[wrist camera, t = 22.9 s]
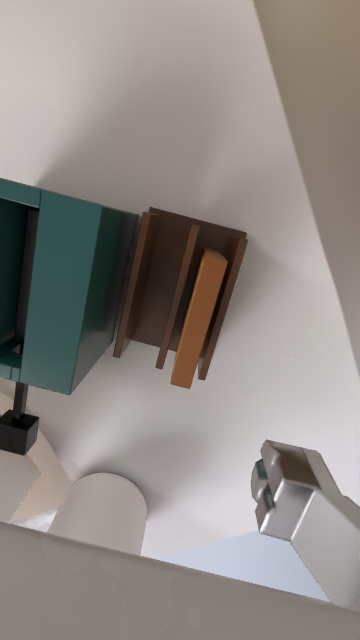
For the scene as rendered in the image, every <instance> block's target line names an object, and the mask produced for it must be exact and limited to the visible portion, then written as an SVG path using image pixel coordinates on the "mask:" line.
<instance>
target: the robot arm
mask: <svg viewBox="0 0 360 640" xmlns="http://www.w3.org/2000/svg"><path fill="white" fill-rule="evenodd" d="M260 451H261V455H262V459H260V460H259V461H257V462H256V463H255V466H254V468H253V471H252V477H251V492H252V497H253V498H254V499H255V501H256V502H257V503H258V505H257V507H256V510H255V513H256V518H257V523H258V528H259V532H260V534H264V535H267V536H271V537H274V538H278V539H282V540H285V541H289V542H291V545H292V546H293V548H294V550H295V551H296V552H297V554H298V555H299V557H300V558H301V560H302V561H303V563H304V564H305V566H306V567H307V568H308V570H309V571H310V573H311V574H312V576H313V577H314V579H315V580H316V582H317V583H318V584H319V586H320V587H321V589H322V590H323V592H324V593H325V595H326V596H327V598H328V599H329V600H330V602H328V601H324V600H320V599H315V598H311V597H307V596H303V595H298V594H295V593H291V592H286V591H282V590H278V589H274V588H270V587H266V586H261V585H257V584H253V583H249V582H245V581H241V580H237V579H233V578H229V577H225V576H221V575H217V574H213V573H209V572H205V571H201V570H196V569H192V568H188V567H184V566H180V565H176V564H172V563H168V562H164V561H160V560H156V559H152V558H148V557H144V556H140V555H136V554H132V553H128V552H124V551H119V550H115V549H111V548H107V547H103V546H99V545H95V544H91V543H87V542H83V541H78V540H74V539H70V538H66V537H62V536H58V535H54V534H50V533H46V532H42V531H37V530H33V529H29V528H25V527H21V526H17V525H13V524H9V523H5V522H1V521H0V640H360V507H359V506H358V505H357V504H356V503H354V502H353V501H352V500H351V499H350V498H349V497H347V496H343V495H342V494H341V492H340V490H339V488H338V487H337V485H336V483H335V481H334V479H333V477H332V475H331V473H330V472H329V470H328V468H327V466H326V464H325V462H324V460H323V458H322V457H321V455H320V453H319V452H317V451H316V450H311V449H307V448H302V447H296V446H292V445H288V444H283V443H279V442H275V441H270V440H266V441H265V442H264V443H263V446H262V448H261V450H260Z"/></svg>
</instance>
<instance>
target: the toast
mask: <svg viewBox="0 0 360 640" xmlns="http://www.w3.org/2000/svg"><path fill="white" fill-rule="evenodd" d="M227 263H228V261H227V260H226V259H225V258H224V257H223V256H222V255H221V253H220V252H219V251H217V250H213V249H210V248H206V247H204V249H203V252H202V255H201V259H200V263H199V266H198V270H197V274H196V277H195V281H194V285H193V288H192V292H191V296H190V299H189V303H188V306H187V310H186V314H185V317H184V321H183V325H182V328H181V332H180V336H179V341H178V346H177V351H176V356H175V362H174V367H173V372H172V377H171V382H170V384H172V385H176V386H180V387H184V388H187V389H190V386H191V383H192V380H193V376H194V373H195V370H196V366H197V363H198V360H199V356H200V353H201V350H202V347H203V343H204V340H205V337H206V333H207V330H208V327H209V323H210V320H211V317H212V313H213V310H214V307H215V303H216V300H217V297H218V293H219V290H220V287H221V283H222V280H223V277H224V273H225V270H226V267H227Z"/></svg>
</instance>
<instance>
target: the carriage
mask: <svg viewBox="0 0 360 640" xmlns="http://www.w3.org/2000/svg"><path fill="white" fill-rule="evenodd" d="M39 212H40V211H36V210H32V209H29V210H28V218H27V227H26V237H25V246H24V255H23V265H22V274H21V283H20V292H19V302H18V311H17V320H16V330H15V339H14V341H16V342H19V343H21V344H20V353H19V354H23V348H24V339H25V331H26V322H27V314H28V305H29V297H30V288H31V280H32V271H33V263H34V254H35V246H36V237H37V229H38V220H39ZM27 392H28V384H24V383H20V382H16V388H15V397H14V406H13V410H8V411H7V412H6V413H5V414H3V415H2V416H1V417H0V450H3V451H7V452H11V453H15V454H18V455H22V456H25V455H26V453H27V452H28V451H29V449H30V448H31V447H32V446H33V444H34V443H35V442H36V438H37V431H38V424H39V417H37V416H33V415H29V414H25V407H26V399H27Z"/></svg>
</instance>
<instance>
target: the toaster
mask: <svg viewBox="0 0 360 640" xmlns="http://www.w3.org/2000/svg"><path fill="white" fill-rule="evenodd" d="M29 209H32V210H36V211H40V212H39V220H38V229H37V237H36V246H35V254H34V263H33V271H32V280H31V288H30V297H29V305H28V314H27V322H26V331H25V339H24V348H23V354H19V353H20V344H21V343H19V342H16V341H14V339H15V330H16V320H17V311H18V302H19V292H20V283H21V274H22V265H23V255H24V246H25V237H26V227H27V218H28V210H29ZM137 219H138V214H134V213H130V212H127V211H123V210H119V209H116V208H112V207H108V206H104V205H101V204H97V203H93V202H89V201H86V200H82V199H78V198H74V197H71V196H67V195H63V194H59V193H56V192H52V191H48V190H45V189H41V188H37V187H33V186H29V185H26V184H22V183H18V182H14V181H11V180H7V179H3V178H0V377H1V378H5V379H9V380H12V381H16V382H20V383H24V384H28V385H32V386H35V387H39V388H43V389H47V390H51V391H55V392H59V393H62V394H66V395H71V393H72V392H73V391H74V390H75V388H76V387H77V386H78V385H79V383H80V382H81V381H82V379H83V378H84V377H85V376H86V374H87V373H88V372H89V371H90V369H91V368H92V367H93V366H94V364H95V363H96V362H97V360H98V359H99V358H100V357H101V355H102V354H103V353H104V352H105V350H106V349H107V348H108V346H109V345H110V344H111V343H112V341H113V336H114V331H115V326H116V321H117V316H118V311H119V307H120V302H121V297H122V292H123V287H124V282H125V277H126V273H127V268H128V263H129V258H130V253H131V248H132V243H133V239H134V234H135V229H136V224H137Z"/></svg>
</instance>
